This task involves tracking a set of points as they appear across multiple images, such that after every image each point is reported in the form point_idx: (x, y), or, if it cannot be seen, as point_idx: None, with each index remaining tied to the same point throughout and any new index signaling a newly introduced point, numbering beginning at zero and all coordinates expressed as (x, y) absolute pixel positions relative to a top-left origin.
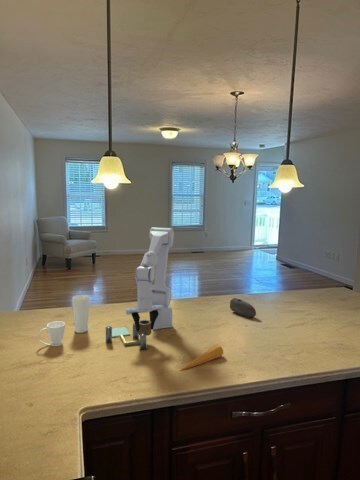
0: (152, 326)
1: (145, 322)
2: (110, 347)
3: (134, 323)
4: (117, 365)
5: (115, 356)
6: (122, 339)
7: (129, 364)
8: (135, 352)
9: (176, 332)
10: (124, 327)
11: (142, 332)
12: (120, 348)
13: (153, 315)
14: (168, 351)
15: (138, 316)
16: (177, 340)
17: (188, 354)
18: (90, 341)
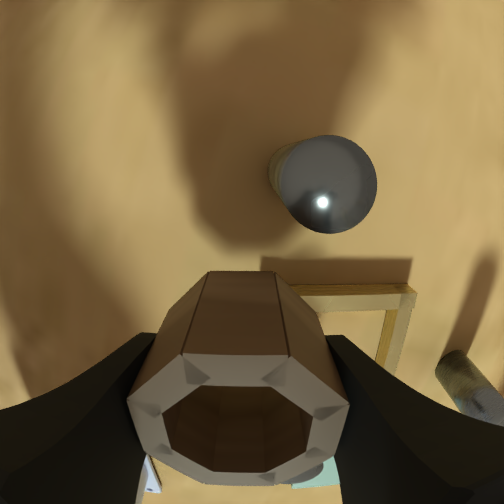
0: (131, 348)
1: (210, 448)
2: (477, 289)
3: (301, 477)
4: (493, 41)
5: (493, 150)
6: (396, 360)
7: (438, 8)
8: (372, 141)
9: (14, 351)
10: (299, 486)
11: (291, 302)
12: (441, 254)
13: (16, 463)
14: (106, 72)
15: (492, 481)
16: (11, 242)
17: (23, 22)
18: (500, 378)
